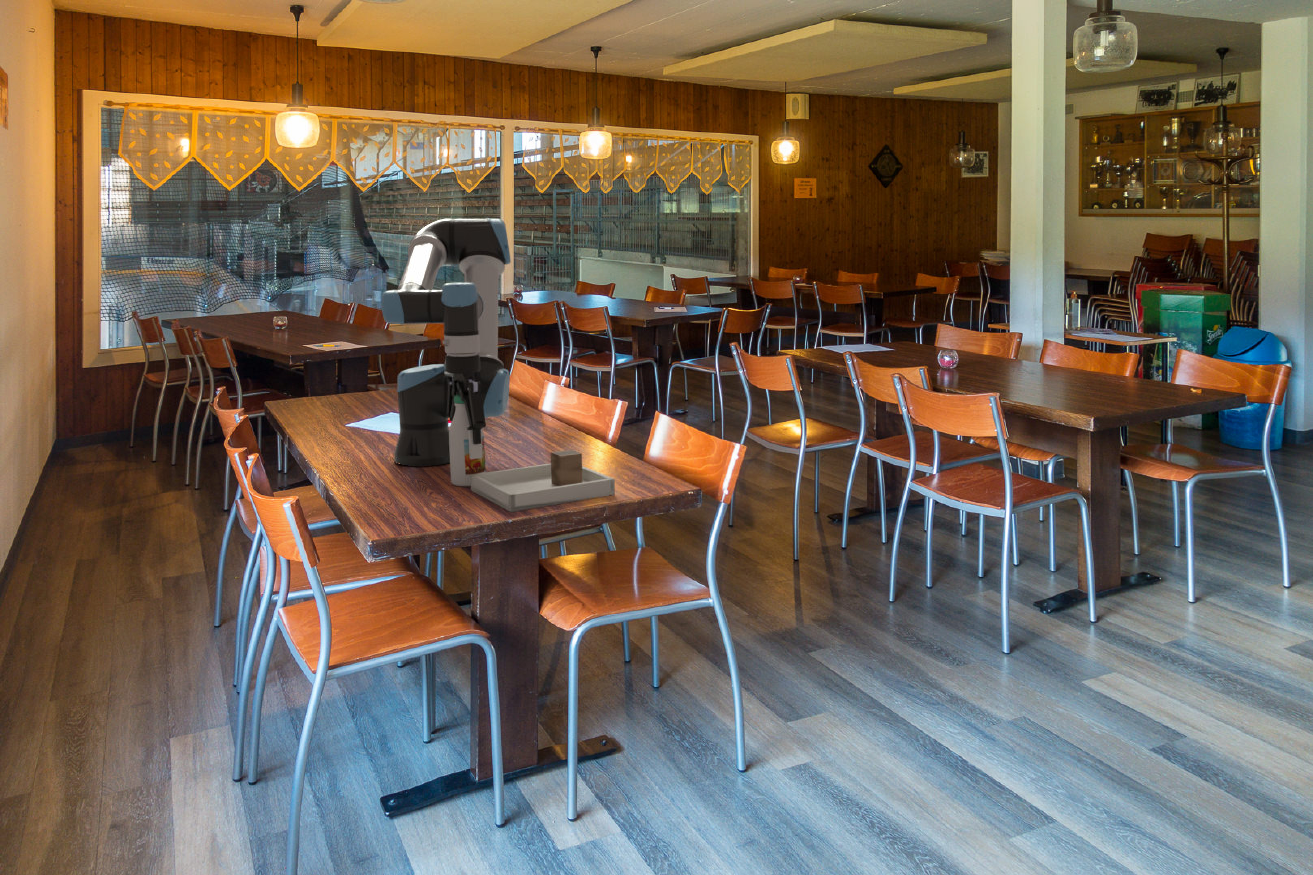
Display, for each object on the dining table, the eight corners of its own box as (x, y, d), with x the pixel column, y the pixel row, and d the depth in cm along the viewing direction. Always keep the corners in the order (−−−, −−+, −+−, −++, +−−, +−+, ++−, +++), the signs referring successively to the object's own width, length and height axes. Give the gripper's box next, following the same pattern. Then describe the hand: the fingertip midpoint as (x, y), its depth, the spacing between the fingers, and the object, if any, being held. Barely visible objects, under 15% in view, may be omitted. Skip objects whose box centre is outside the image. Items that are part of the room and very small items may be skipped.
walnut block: (551, 483, 220) (550, 452, 218) (571, 480, 222) (571, 449, 221) (561, 488, 215) (561, 456, 214) (582, 484, 218) (581, 453, 217)
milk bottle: (452, 488, 220) (447, 398, 216) (449, 480, 227) (445, 393, 223) (487, 485, 222) (484, 396, 218) (484, 477, 229) (480, 391, 226)
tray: (471, 490, 218) (470, 474, 218) (569, 475, 231) (569, 460, 230) (510, 512, 201) (510, 495, 200) (614, 494, 213) (614, 478, 213)
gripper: (428, 350, 226) (433, 447, 231) (465, 360, 208) (470, 465, 212) (459, 348, 230) (464, 443, 235) (498, 357, 212) (503, 461, 216)
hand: (467, 454), depth 223 cm, fingers open, 10 cm apart
